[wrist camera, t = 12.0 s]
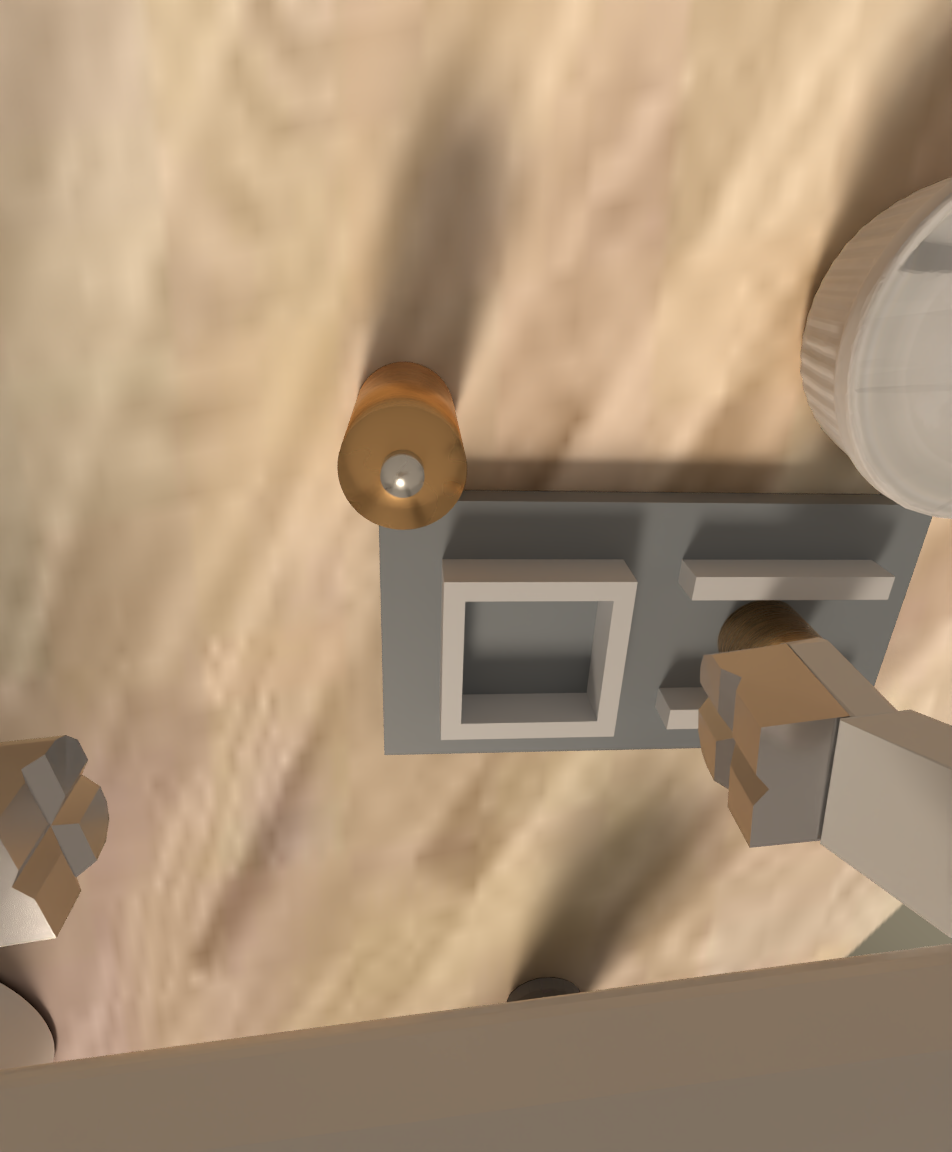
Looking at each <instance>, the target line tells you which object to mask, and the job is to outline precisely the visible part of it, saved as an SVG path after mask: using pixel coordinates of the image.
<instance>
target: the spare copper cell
mask: <svg viewBox="0 0 952 1152" xmlns="http://www.w3.org/2000/svg"><path fill="white" fill-rule="evenodd" d="M817 637H820V638H822V637H821V636H820V635H819V634H818V633H817V632H816V631H815V630H814V629H813V628H812V627H811V626H810V625H809V624H808V623H807V622H806V621H805V620H804V619H803V618H802V617H801V616H800V615H799V614H798V613H797V612H796V611H795V610H794V609H793V608H792V607H791V606H790V605H788V604H787V603H785V602H783V601H779V600H756V601H753V602H750V603H748V604H745V605H744V606H742V607H740V608H739V609H737V610H736V611H735V612H733V613H732V614H731V615H730V616H729V617H728V618H727V620H726V621H725V622H724V624H723V626H722V627H721V630H720V632H719V636H718V651H719V653H721V652H729V651H736V650H743V649H750V648H757V647H764V646H771V645H779V644H781V643H785V642H792V641H798V640H804V639H811V638H817Z"/></svg>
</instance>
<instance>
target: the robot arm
mask: <svg viewBox="0 0 952 1152" xmlns="http://www.w3.org/2000/svg"><path fill="white" fill-rule="evenodd" d="M700 683H701V685H702V687H703V688H704V690H705V692H706V693H707V695H708V698H707V699H706V701H705V702H704V703H703V704H702V706H701V707H700V708H699V709H698V733H699V738H700V744H701V750H702V754H703V757H704V759H705V762H706V765H707V768H708V770H709V772H710V774H711V775H712V777H713V779H714V781H716V782H717V783H719V784H721V785H722V786H724V787H726V788H727V789H729V792H728V808H729V810H730V812H731V814H732V816H733V817H734V819H735V821H736V823H737V825H738V827H739V829H740V831H741V832H742V834H743V836H744V838H745V840H746V842H747V844H748V846H749V847H750V848H751V847H761V846H771V845H780V844H790V843H800V842H810V841H819V840H821V842H820V844H821V845H823V846H824V847H825V848H827V849H828V850H830V851H831V852H832V853H834V854H835V855H836V856H838V857H839V858H841V859H842V860H843V861H845V862H846V863H848V864H849V865H850V866H852V867H853V868H854V869H856V870H857V871H859V872H860V873H861V874H863V875H864V876H866V877H867V878H868V879H870V880H871V881H872V882H874V883H875V884H877V885H878V886H879V887H881V888H882V889H884V890H885V891H886V892H888V893H889V894H890V895H892V896H893V897H895V898H896V899H897V900H899V901H900V902H902V903H903V904H904V905H906V906H907V907H908V908H910V909H911V910H913V911H914V912H916V913H917V914H918V915H920V916H921V917H923V918H924V919H925V920H927V921H928V922H929V923H931V924H932V925H933V926H935V927H936V928H938V929H939V930H940V931H942V932H943V933H945V934H946V935H947V936H949V937H950V938H952V726H951V725H949V724H946V723H943V722H941V721H938V720H936V719H933V718H931V717H928V716H926V715H923V714H920V713H918V712H915V711H913V710H904V711H897V710H896V709H895V708H894V707H893V706H892V705H891V704H890V703H889V702H888V701H887V700H886V699H885V698H884V696H883V695H882V694H881V693H880V692H879V691H878V690H877V689H876V688H875V687H874V686H873V685H872V684H871V683H870V682H869V681H868V680H867V679H866V678H865V677H864V676H863V675H862V674H861V673H860V672H859V671H858V670H857V669H856V668H855V667H854V666H853V665H852V664H851V663H850V662H849V661H848V660H847V659H846V658H845V657H844V656H843V655H842V654H841V653H840V652H839V651H838V650H837V649H836V648H835V647H834V646H833V645H832V644H831V643H830V642H829V641H828V640H825V639H823V638H820V637H817V638H811V639H804V640H798V641H792V642H785V643H781V644H779V645H771V646H764V647H757V648H750V649H743V650H736V651H729V652H721V653H714V654H707V655H704V656H703V659H702V662H701V666H700ZM87 761H88V759H87V757H86V755H85V753H84V751H83V749H82V747H81V745H80V743H79V742H78V740H77V739H74V738H72V737H69V736H67V735H62V736H53V737H44V738H34V739H25V740H15V741H6V742H0V947H4V946H10V945H16V944H23V943H29V942H35V941H42V940H48V939H54V938H57V936H58V934H59V932H60V930H61V928H62V927H63V925H64V923H65V921H66V919H67V917H68V915H69V913H70V911H71V909H72V907H73V905H74V904H75V902H76V900H77V898H78V896H79V894H80V892H81V888H80V885H79V882H78V879H77V876H78V875H80V874H81V873H82V872H83V871H85V870H86V869H87V868H88V867H89V866H91V865H92V864H93V863H94V862H95V861H97V859H98V857H99V855H100V853H101V851H102V849H103V846H104V844H105V842H106V838H107V831H108V824H109V814H108V807H107V801H106V799H105V796H104V794H103V792H102V790H101V787H100V786H99V785H97V784H96V783H94V782H93V781H91V780H90V779H88V778H87V777H85V776H84V775H82V773H83V771H84V768H85V766H86V763H87ZM54 1053H55V1049H54V1041H53V1038H52V1034H51V1032H50V1030H49V1028H48V1026H47V1024H46V1022H45V1021H44V1020H43V1018H42V1017H41V1015H40V1014H39V1013H38V1012H37V1011H36V1010H35V1009H34V1008H33V1007H32V1005H30V1004H29V1003H28V1002H27V1001H26V1000H25V999H24V998H22V997H21V996H20V995H18V994H17V993H16V992H14V991H13V990H11V989H10V988H8V987H6V986H5V985H3V984H1V983H0V1152H952V943H951V944H943V945H936V946H928V947H921V948H914V949H906V950H898V951H891V952H884V953H876V954H869V955H861V956H854V957H845V958H838V959H830V960H823V961H815V962H808V963H800V964H792V965H785V966H777V967H770V968H762V969H755V970H747V971H740V972H732V973H725V974H717V975H709V976H702V977H694V978H687V979H679V980H672V981H664V982H657V983H649V984H641V985H634V986H626V987H619V988H611V989H604V990H596V991H589V992H581V993H573V994H566V995H558V996H551V997H543V998H536V999H528V1000H521V1001H513V1002H505V1003H498V1004H490V1005H483V1006H475V1007H468V1008H460V1009H453V1010H445V1011H438V1012H430V1013H422V1014H415V1015H407V1016H400V1017H392V1018H385V1019H377V1020H370V1021H362V1022H355V1023H347V1024H340V1025H332V1026H325V1027H317V1028H309V1029H302V1030H294V1031H287V1032H279V1033H272V1034H264V1035H257V1036H249V1037H242V1038H234V1039H227V1040H219V1041H212V1042H204V1043H197V1044H189V1045H181V1046H174V1047H166V1048H159V1049H151V1050H144V1051H136V1052H129V1053H121V1054H114V1055H106V1056H99V1057H91V1058H84V1059H76V1060H68V1061H61V1062H53V1060H54Z"/></svg>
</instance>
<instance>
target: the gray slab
mask: <svg viewBox="0 0 952 1152" xmlns="http://www.w3.org/2000/svg"><path fill="white" fill-rule="evenodd" d="M931 519H932V516H929V515H926V514H922V513H919V512H915V511H912V510H909V509H906V508H904V507H902V506H901V505H899V504H898V503H896V502H894V501H893V500H891V499H890V498H888V497H886V496H885V495H879V494H778V493H677V492H576V491H475V490H463V491H462V494H461V496H460V498H459V499H458V501H457V503H456V504H455V505H454V507H453V508H452V509H451V510H450V511H449V512H448V513H447V514H446V515H444V516H443V517H442V518H441V519H439V520H437V521H436V522H434V523H432V524H430V525H427V526H424V527H421V528H417V529H410V530H397V529H390V528H386V527H383V526H380V525H379V547H380V588H381V629H382V670H383V710H384V751H385V755H407V754H451V753H496V752H540V751H585V750H629V749H674V748H701V744H700V738H699V733H698V709H699V708H700V707H701V706H702V704H703V703H704V702H705V701H706V699H707V698H708V695H707V693H706V692H705V690H704V688H703V687H702V685H701V683H700V666H701V662H702V659H703V656H704V655H707V654H714V653H719V651H718V636H719V632H720V630H721V627H722V626H723V624H724V622H725V621H726V620H727V618H728V617H729V616H730V615H731V614H732V613H733V612H735V611H736V610H737V609H739V608H740V607H742V606H744V605H745V604H748V603H750V602H753V601H756V600H779V601H783V602H785V603H787V604H788V605H790V606H791V607H792V608H793V609H794V610H795V611H796V612H797V613H798V614H799V615H800V616H801V617H802V618H803V619H804V620H805V621H806V622H807V623H808V624H809V625H810V626H811V627H812V628H813V629H814V630H815V631H816V632H817V633H818V634H819V635H820V636H821V637H822V638H823V639H825V640H828V641H829V642H830V643H831V644H832V645H833V646H834V647H835V648H836V649H837V650H838V651H839V652H840V653H841V654H842V655H843V656H844V657H845V658H846V659H847V660H848V661H849V662H850V663H851V664H852V665H853V666H854V667H855V668H856V669H857V670H858V671H859V672H860V673H861V674H862V675H863V676H864V677H865V678H866V679H867V680H868V681H869V682H870V683H871V684H872V685H873V686H874V685H875V682H876V679H877V676H878V673H879V670H880V667H881V664H882V661H883V659H884V656H885V653H886V650H887V647H888V644H889V641H890V638H891V635H892V632H893V629H894V627H895V624H896V621H897V618H898V615H899V612H900V609H901V606H902V603H903V600H904V597H905V595H906V592H907V589H908V586H909V583H910V580H911V577H912V574H913V571H914V568H915V565H916V563H917V560H918V557H919V554H920V551H921V548H922V545H923V542H924V539H925V536H926V533H927V531H928V528H929V525H930V522H931Z"/></svg>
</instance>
